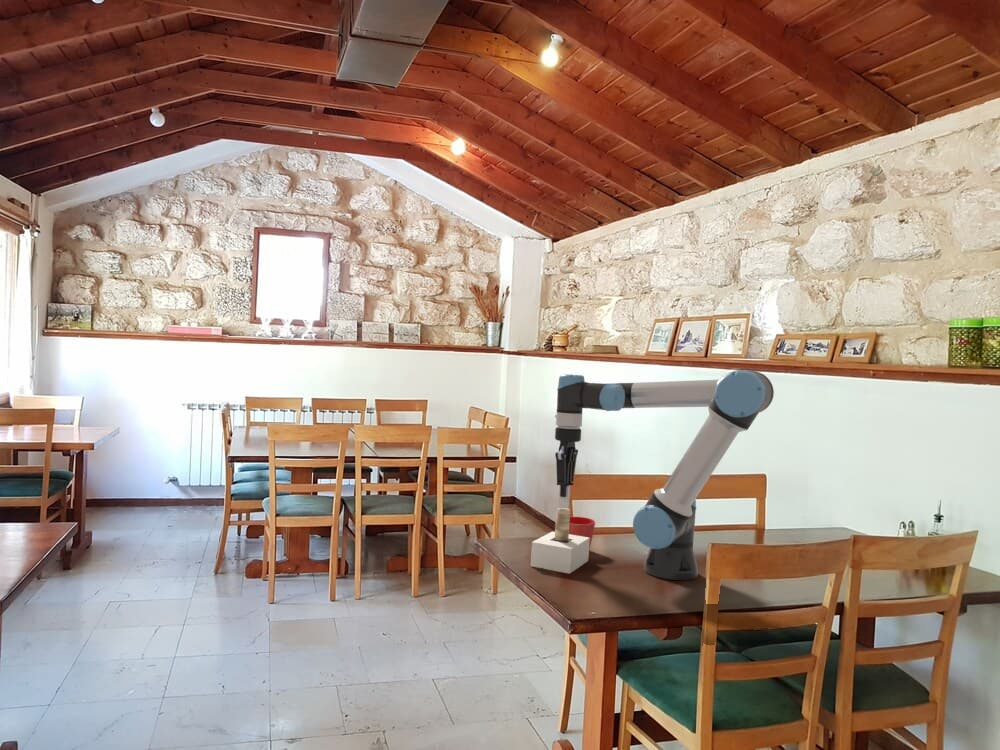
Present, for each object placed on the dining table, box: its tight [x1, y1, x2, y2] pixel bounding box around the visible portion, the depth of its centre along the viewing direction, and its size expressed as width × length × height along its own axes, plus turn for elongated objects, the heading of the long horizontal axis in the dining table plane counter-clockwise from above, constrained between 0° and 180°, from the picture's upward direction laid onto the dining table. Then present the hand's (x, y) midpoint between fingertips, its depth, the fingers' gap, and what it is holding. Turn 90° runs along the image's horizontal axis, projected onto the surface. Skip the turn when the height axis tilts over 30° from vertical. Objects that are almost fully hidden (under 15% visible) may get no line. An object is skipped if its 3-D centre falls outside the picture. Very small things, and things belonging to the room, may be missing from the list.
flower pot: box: [569, 516, 596, 550], centre depth 235 cm, size 11×11×10 cm
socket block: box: [529, 531, 590, 574], centre depth 219 cm, size 12×16×7 cm
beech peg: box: [554, 507, 571, 543], centre depth 219 cm, size 4×4×14 cm
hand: (563, 507), depth 219 cm, fingers closed
